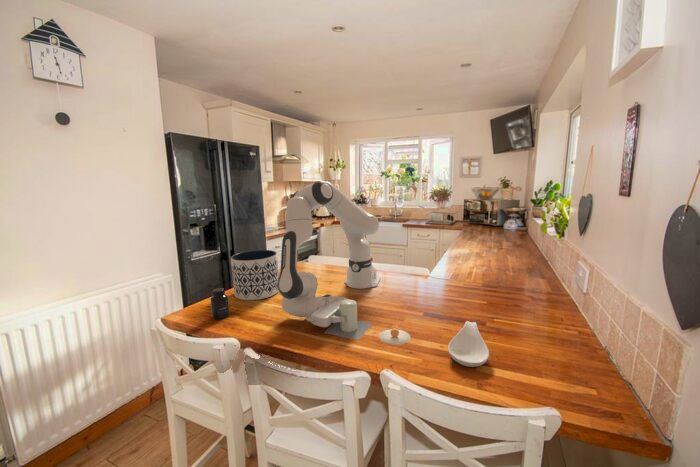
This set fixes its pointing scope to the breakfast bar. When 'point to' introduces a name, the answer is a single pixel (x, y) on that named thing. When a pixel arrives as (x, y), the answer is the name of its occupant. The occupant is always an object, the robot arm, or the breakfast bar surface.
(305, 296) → the robot arm
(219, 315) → the supplement bottle
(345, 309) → the grey rounded cylinder
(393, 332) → the ball
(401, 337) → the coaster
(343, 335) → the felt mat
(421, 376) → the breakfast bar surface
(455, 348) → the spoon rest
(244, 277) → the planter
